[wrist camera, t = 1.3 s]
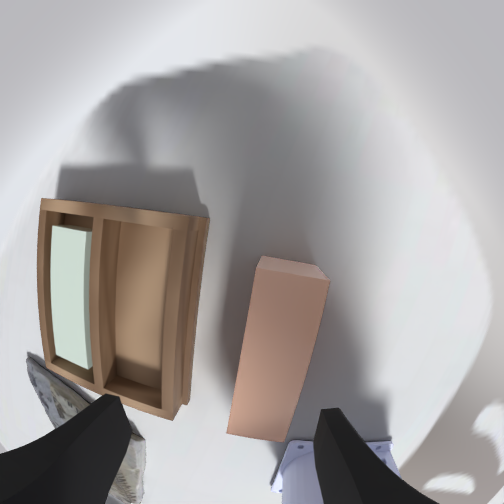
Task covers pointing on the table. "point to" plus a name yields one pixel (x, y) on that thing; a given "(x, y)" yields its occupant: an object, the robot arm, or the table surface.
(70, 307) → the glazed tile
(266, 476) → the table surface
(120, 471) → the fossil rock
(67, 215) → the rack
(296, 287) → the clay bar
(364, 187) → the table surface
